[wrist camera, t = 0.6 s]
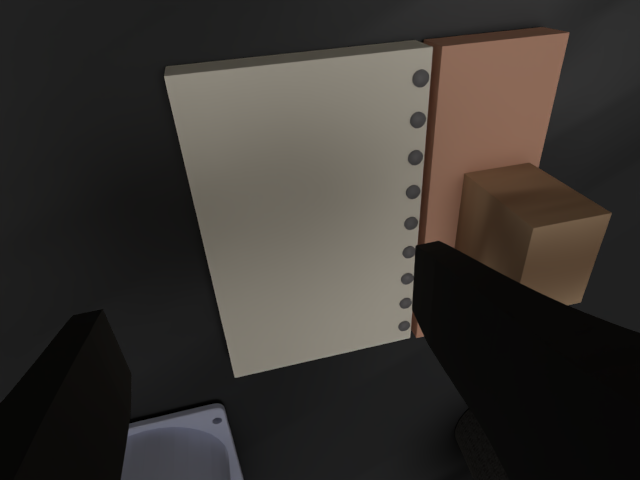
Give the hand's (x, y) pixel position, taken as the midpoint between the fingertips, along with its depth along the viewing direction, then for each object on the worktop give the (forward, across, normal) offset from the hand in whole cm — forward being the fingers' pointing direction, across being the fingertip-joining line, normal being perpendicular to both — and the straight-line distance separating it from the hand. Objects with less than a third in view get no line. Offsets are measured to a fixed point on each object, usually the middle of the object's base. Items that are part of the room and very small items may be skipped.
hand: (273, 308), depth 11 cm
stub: (+9, -10, +3) cm, 14 cm away
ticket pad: (+9, -3, +3) cm, 10 cm away
